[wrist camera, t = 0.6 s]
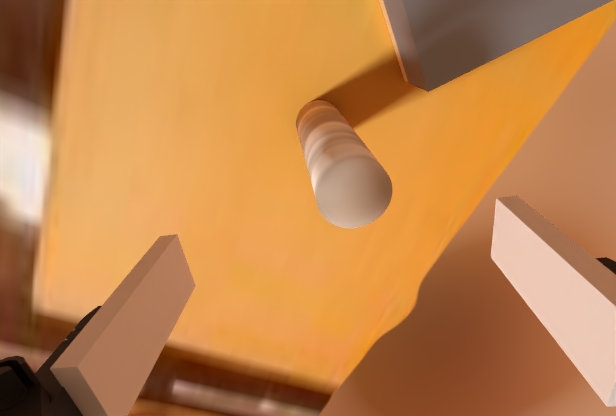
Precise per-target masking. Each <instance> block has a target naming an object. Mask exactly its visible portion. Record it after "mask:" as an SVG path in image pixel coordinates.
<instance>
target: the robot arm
mask: <svg viewBox="0 0 616 416" xmlns="http://www.w3.org/2000/svg"><path fill="white" fill-rule="evenodd" d="M491 258H492V259H493V260H494V262H495V263H496V264H497V266H498V267H499V268H500V269H501V271H502V272H503V273H504V275H505V276H506V277H507V278H508V280H509V281H510V282H511V284H512V285H513V286H514V287H515V289H516V290H517V291H518V292H519V294H520V295H521V297H522V298H523V299H524V300H525V301H526V303H527V304H528V305H529V307H530V308H531V309H532V311H533V312H534V313H535V315H536V316H537V317H538V318H539V319H540V321H541V322H542V324H543V325H544V326H545V327H546V329H547V330H548V331H549V332H550V334H551V335H552V336H553V338H554V339H555V340H556V341H557V343H558V344H559V345H560V347H561V348H562V349H563V351H564V352H565V353H566V354H567V356H568V357H569V358H570V360H571V361H572V362H573V364H574V365H575V366H576V367H577V369H578V370H579V371H580V373H581V374H582V375H583V376H584V378H585V379H586V380H587V381H588V383H589V384H590V385H591V387H592V388H593V389H594V391H595V392H596V393H597V394H598V396H599V397H600V398H601V400H602V401H603V402H604V403H605V405H606V406H616V262H615V261H613V260H611V259H609V258H594V257H593V256H592V255H590V254H589V253H588V252H586V251H585V250H584V249H583V248H582V247H580V246H579V245H578V244H576V243H575V242H574V241H573V240H571V239H570V238H569V237H568V236H567V235H565V234H564V233H563V232H561V231H560V230H559V229H558V228H556V227H555V226H554V225H553V224H551V223H550V222H549V221H548V220H547V219H545V218H544V217H543V216H542V215H540V214H539V213H538V212H537V211H535V210H534V209H533V208H531V207H530V206H529V205H528V204H526V203H525V202H524V201H523V200H521V199H520V198H519V197H518V196H512V197H503V198H497V199H496V208H495V218H494V228H493V239H492V249H491ZM194 287H195V283H194V280H193V277H192V275H191V272H190V269H189V266H188V264H187V261H186V258H185V255H184V253H183V250H182V247H181V244H180V241H179V239H178V236H177V235H168V236H160V237H159V238H158V239H157V241H156V242H155V243H154V244H153V245H152V247H151V248H150V249H149V250H148V251H147V253H146V254H145V255H144V256H143V257H142V259H141V260H140V261H139V262H138V263H137V265H136V266H135V267H134V268H133V269H132V271H131V272H130V273H129V274H128V275H127V277H126V278H125V279H124V280H123V281H122V283H121V284H120V285H119V286H118V287H117V289H116V290H115V291H114V292H113V293H112V295H111V296H110V297H109V298H108V299H107V301H106V302H105V303H104V304H103V305H102V306H98V307H97V308H95V309H94V310H93V311H91V312H90V313H89V314H87V315H86V316H85V317H84V318H83V319H82V320H81V321H80V322H79V324H78V325H77V326H76V327H75V328H74V331H73V332H71V333H70V334H69V335H68V336H67V337H66V339H65V342H62V343H61V344H60V345H59V347H58V348H57V349H56V350H55V351H54V352H53V354H52V355H51V356H50V357H49V358H48V359H47V360H46V362H45V363H44V364H43V365H42V366H41V367H40V369H39V370H38V371H37V372H36V373H34V372H33V370H32V369H31V367H30V366H29V365H28V363H27V362H26V360H25V359H24V358H23V357H20V356H13V357H7V358H5V359H2V360H0V416H128V414H129V412H130V410H131V408H132V406H133V404H134V403H135V401H136V399H137V397H138V395H139V393H140V391H141V389H142V387H143V385H144V383H145V381H146V380H147V378H148V376H149V374H150V372H151V370H152V368H153V366H154V364H155V362H156V360H157V358H158V357H159V355H160V353H161V351H162V349H163V347H164V345H165V343H166V341H167V339H168V337H169V335H170V333H171V332H172V330H173V328H174V326H175V324H176V322H177V320H178V318H179V316H180V314H181V312H182V310H183V309H184V307H185V305H186V303H187V301H188V299H189V297H190V295H191V293H192V291H193V289H194Z"/></svg>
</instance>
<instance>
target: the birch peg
mask: <svg viewBox="0 0 616 416" xmlns="http://www.w3.org/2000/svg"><path fill="white" fill-rule="evenodd" d="M296 127H297V131H298V135H299V139H300V142H301V146H302V150H303V153H304V157H305V161H306V164H307V168H308V172H309V175H310V179H311V183H312V186H313V190H314V194H315V197H316V201H317V205H318V208H319V210H320V212H321V214H322V216H323V217H324V218H325V219H326V220H327V221H329V222H330V223H332V224H334V225H336V226H339V227H343V228H358V227H362V226H365V225H367V224H370V223H371V222H373V221H375V220H376V219H377V218H379V217H380V216H381V215H382V214H383V213H384V211H385V210H386V209H387V207H388V205H389V203H390V200H391V197H392V183H391V180H390V178H389V175H388V174H387V172H386V171H385V170H384V168H383V167H382V166H381V165H380V163H379V162H378V161H377V159H376V158H375V157H374V156H373V154H372V153H371V152H370V150H369V149H368V148H367V147H366V145H365V144H364V143H363V141H362V140H361V139H360V137H359V136H358V135H357V134H356V132H355V131H354V130H353V128H352V127H351V126H350V125H349V123H348V122H347V121H346V119H345V118H344V117H343V115H342V114H341V113H340V112H339V110H338V109H337V108H336V107H335V106H334V105H333V104H332V103H330V102H328V101H324V100H315V101H312V102H309V103H308V104H306V105H305V106H304V107H303V108H302V109H301V110H300V112H299V114H298V116H297V120H296Z"/></svg>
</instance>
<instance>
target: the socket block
mask: <svg viewBox="0 0 616 416" xmlns="http://www.w3.org/2000/svg"><path fill="white" fill-rule="evenodd" d="M610 1H613V0H379V2H380V5H381V8H382V11H383V14H384V18H385V21H386V24H387V27H388V30H389V34H390V37H391V40H392V43H393V46H394V50H395V53H396V56H397V59H398V62H399V66H400V69H401V72H402V75H403V79H404V81H406V82H408V83H411V84H413V85H415V86H417V87H419V88H421V89H424V90H426V91H428V92H429V91H431V90H433V89H435V88H437V87H439V86H441V85H443V84H445V83H447V82H449V81H451V80H453V79H455V78H457V77H459V76H461V75H463V74H465V73H467V72H469V71H471V70H473V69H475V68H477V67H479V66H481V65H483V64H485V63H487V62H489V61H491V60H493V59H495V58H497V57H499V56H501V55H504V54H506V53H508V52H510V51H512V50H514V49H516V48H518V47H520V46H522V45H524V44H526V43H528V42H530V41H532V40H534V39H536V38H538V37H540V36H542V35H544V34H546V33H548V32H550V31H552V30H554V29H556V28H558V27H560V26H562V25H564V24H566V23H568V22H570V21H572V20H574V19H576V18H578V17H580V16H582V15H584V14H586V13H588V12H590V11H592V10H594V9H596V8H598V7H600V6H602V5H604V4H606V3H608V2H610Z"/></svg>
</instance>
